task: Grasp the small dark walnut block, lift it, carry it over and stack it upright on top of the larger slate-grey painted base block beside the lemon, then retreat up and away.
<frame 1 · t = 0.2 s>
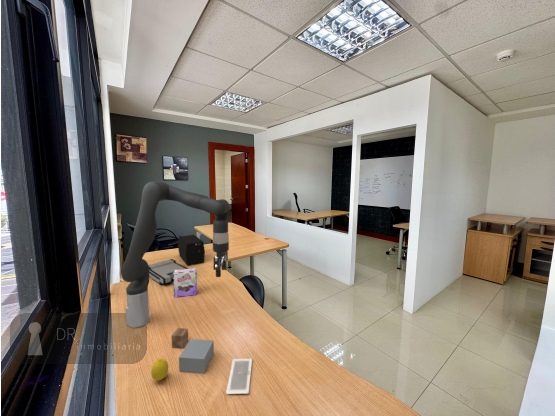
hand: (221, 273, 108), 29 cm above the table, fingers open, 8 cm apart
walnut block: (180, 344, 99), on the table
candy box: (186, 294, 143), on the table
lemon: (160, 379, 82), on the table
uninterruptible power supply: (191, 259, 207), on the table
base block: (197, 362, 90), on the table
touchpad: (240, 377, 83), on the table
game console: (168, 277, 169), on the table
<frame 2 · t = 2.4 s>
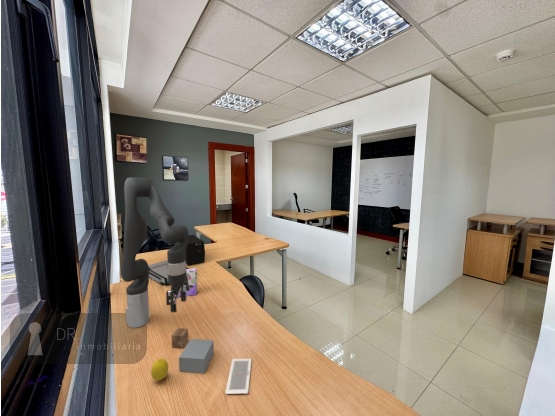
hand: (178, 306, 97), 18 cm above the table, fingers open, 8 cm apart
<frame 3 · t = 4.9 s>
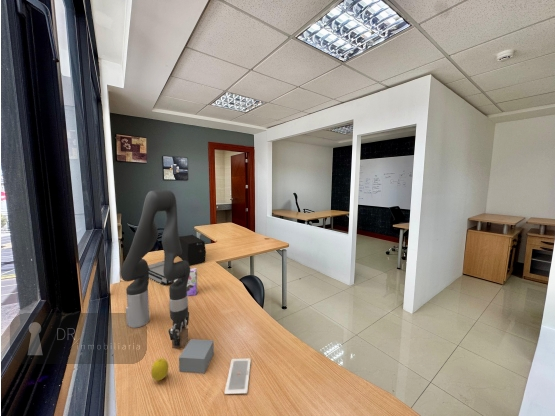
hand: (180, 341, 99), 1 cm above the table, fingers closed on walnut block, 5 cm apart
walnut block: (180, 344, 99), on the table, touching gripper
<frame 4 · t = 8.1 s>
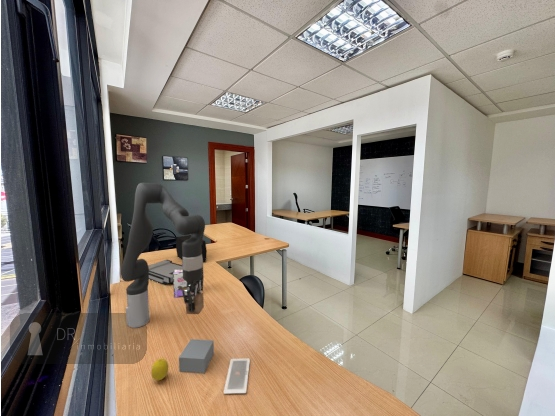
hand: (194, 306, 88), 23 cm above the table, fingers closed on walnut block, 5 cm apart
walnut block: (195, 310, 88), point 22 cm above the table, touching gripper
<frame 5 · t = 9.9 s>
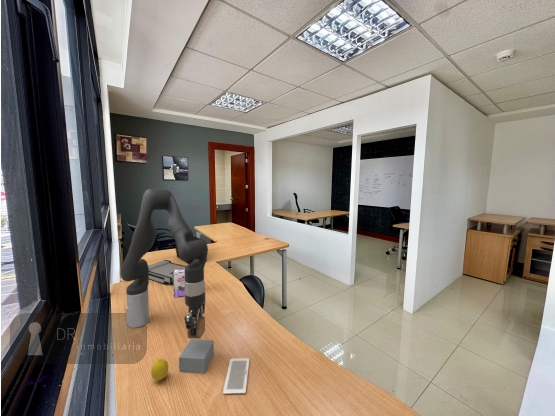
hand: (196, 330, 88), 14 cm above the table, fingers closed on walnut block, 5 cm apart
walnut block: (196, 334, 88), point 12 cm above the table, touching gripper
when the fingers open (9 cm above the table, at t = 11.3 s): walnut block drops 1 cm, resting on base block.
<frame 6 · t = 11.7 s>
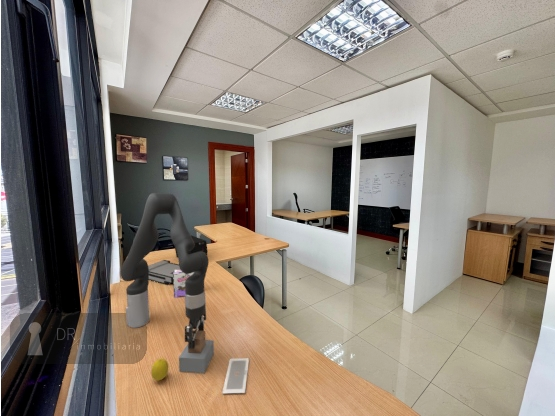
hand: (196, 340, 88), 10 cm above the table, fingers open, 8 cm apart
walnut block: (197, 348, 89), point 6 cm above the table, touching base block
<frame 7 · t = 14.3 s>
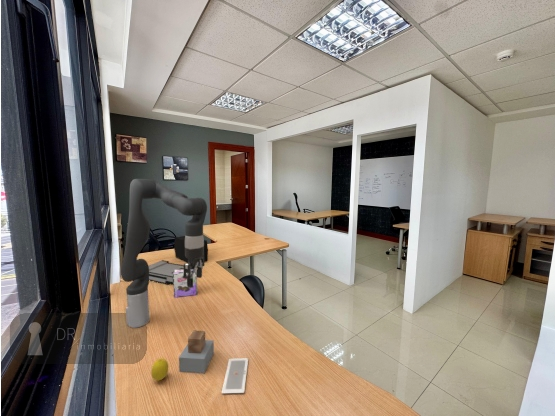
hand: (194, 281, 94), 30 cm above the table, fingers open, 8 cm apart
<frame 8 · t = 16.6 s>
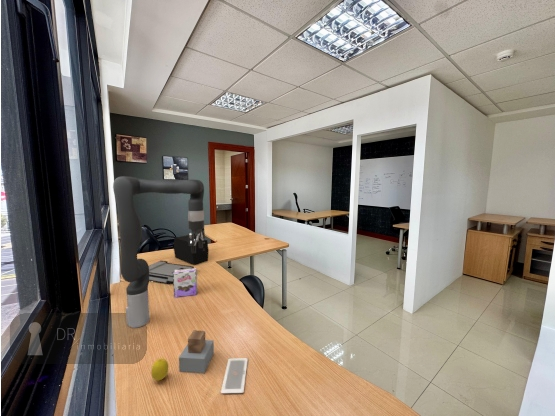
hand: (197, 250, 113), 38 cm above the table, fingers open, 8 cm apart
at the end: walnut block 0.1 cm off-centre on the base block, point 6.0 cm above the base block's base; walnut block tilted 0°; the gripper is holding nothing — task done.
